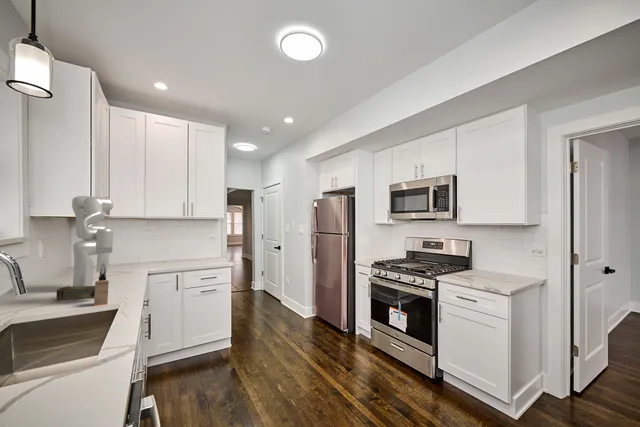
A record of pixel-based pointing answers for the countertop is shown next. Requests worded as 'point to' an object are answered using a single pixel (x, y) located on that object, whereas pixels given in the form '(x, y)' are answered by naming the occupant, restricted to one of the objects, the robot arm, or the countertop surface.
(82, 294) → the beverage carton
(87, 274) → the robot arm
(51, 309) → the countertop surface
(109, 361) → the countertop surface
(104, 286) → the wooden block
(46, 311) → the countertop surface
